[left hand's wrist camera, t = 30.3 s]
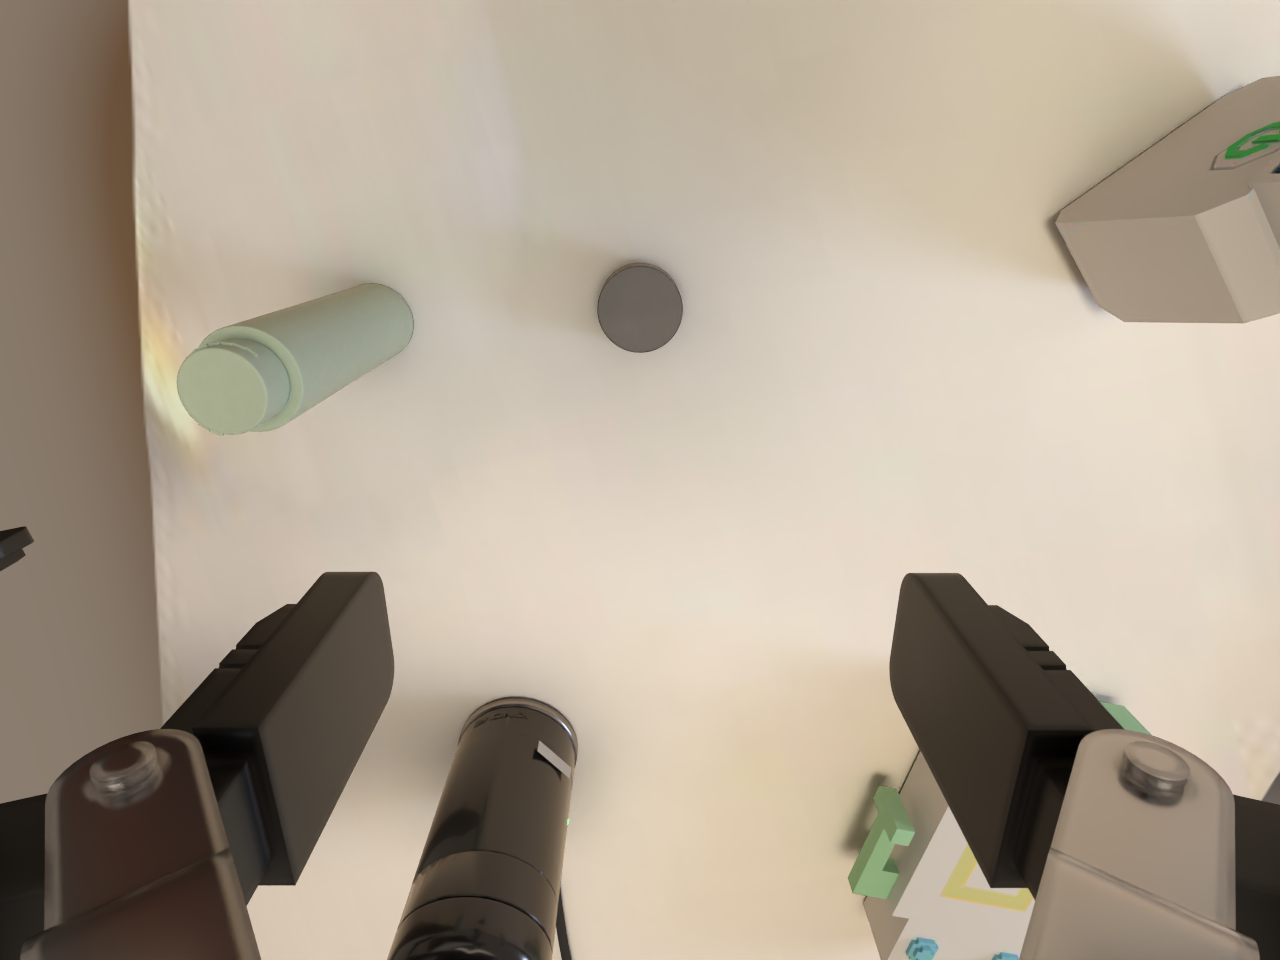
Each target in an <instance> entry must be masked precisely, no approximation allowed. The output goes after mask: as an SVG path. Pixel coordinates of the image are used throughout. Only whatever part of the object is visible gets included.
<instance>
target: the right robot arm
mask: <svg viewBox="0 0 1280 960" xmlns="http://www.w3.org/2000/svg"><path fill="white" fill-rule="evenodd" d="M32 542H34V540H33V538H32V536H31V535H30V533H29V531H28V529H27V528H26V527H19V528H14V529H9V530H4V531H0V571H1V570H3V569H5V568H7V567H8V566H10V565H12V564H14V563H15V562H17V561H18V560H20V559H21V558H22V557H24V556H25V553H24V551H23V550H22V548H24V547H25V546H27V545H29V544H31V543H32ZM577 749H578V746H577V739H576V736H575V733H574V731H573V729H572V727H571V725H570V724H569V723H568V721H567V720H566V719H565V718H564V717H563V716H562V715H561V714H560V713H559V712H557V711H556V710H554V709H553V708H551V707H549V706H547V705H545V704H543V703H540V702H537V701H534V700H529V699H522V698H509V699H502V700H497V701H494V702H491V703H489V704H486V705H485V706H483V707H481V708H480V709H478V710H477V711H476V712H474V713H473V714H472V715H471V716H470V717H469V719H468V720H467V721H466V723H465V725H464V727H463V729H462V732H461V735H460V738H459V742H458V748H457V751H456V754H455V757H454V760H453V763H452V766H451V769H450V772H449V775H448V778H447V781H446V784H445V787H444V790H443V793H442V796H441V799H440V802H439V805H438V808H437V811H436V814H435V817H434V820H433V823H432V826H431V829H430V832H429V835H428V838H427V841H426V844H425V847H424V850H423V853H422V856H421V859H420V862H419V865H418V868H417V871H416V874H415V877H414V880H413V883H412V887H411V890H410V893H409V896H408V899H407V902H406V905H405V908H404V911H403V914H402V917H401V920H400V923H399V926H398V929H397V932H396V935H395V938H394V941H393V944H392V947H391V949H390V952H389V955H388V958H387V960H552V953H553V944H554V936H555V927H556V929H557V935H558V941H559V947H560V952H561V957H562V960H571V956H570V951H569V946H568V941H567V935H566V928H565V921H564V915H563V908H562V901H561V891H560V883H561V874H562V866H563V857H564V849H565V840H566V832H567V825H568V822H569V819H568V815H569V807H570V798H571V790H572V783H573V775H574V768H575V765H576V759H577Z"/></svg>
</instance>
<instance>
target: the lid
mask: <svg viewBox="0 0 1280 960" xmlns="http://www.w3.org/2000/svg"><path fill="white" fill-rule="evenodd" d="M682 311H683V307H682V300H681V296H680V293H679V291H678V288H677V286H676V284H675V282H674V281H673V280H672V278H671V277H670V276H669V275H668V274H667V273H666V272H665V271H663V270H662V269H660V268H658V267H656V266H654V265H651V264H646V263H634V264H630V265H626V266H624V267H622V268H620V269H618V270H617V271H616V272H614V273H613V274H612V275H611V276H610V277H609V279H608V280H607V281H606V283H605V285H604V287H603V289H602V291H601V294H600V297H599V300H598V318H599V322H600V325H601V327H602V329H603V331H604V333H605V334H606V336H607V337H608V338H609V339H610V340H611V341H612V342H613V343H614V344H615V345H617V346H619V347H620V348H622V349H625V350H627V351H631V352H640V353H642V352H649V351H653V350H656V349H658V348H660V347H662V346H663V345H665V344H666V343H667V342H668V341H669V340H671V338H672V337H673V336H674V335H675V333H676V332H677V330H678V328H679V326H680V323H681V319H682Z"/></svg>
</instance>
